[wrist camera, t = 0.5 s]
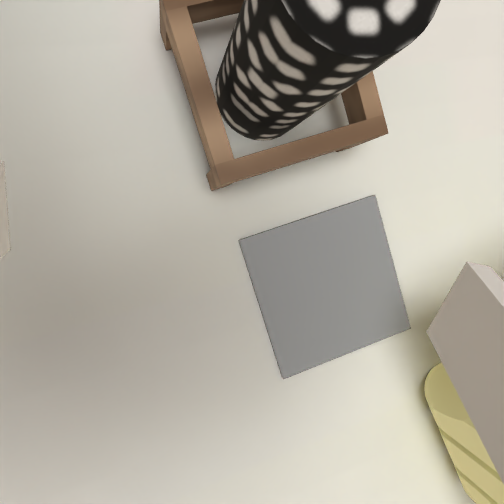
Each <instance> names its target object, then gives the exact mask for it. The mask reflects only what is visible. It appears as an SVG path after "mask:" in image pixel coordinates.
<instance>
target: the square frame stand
mask: <svg viewBox="0 0 504 504" xmlns="http://www.w3.org/2000/svg"><path fill="white" fill-rule="evenodd" d="M243 1H244V0H159V5H160V33H161V36H162V39H163V42H164V46H165V49H166V50H171V49H172V50H173V53H174V56H175V59H176V63H177V66H178V69H179V72H180V75H181V78H182V81H183V84H184V88H185V91H186V94H187V97H188V100H189V103H190V106H191V109H192V113H193V116H194V119H195V122H196V125H197V128H198V131H199V134H200V138H201V141H202V144H203V147H204V150H205V153H206V156H207V159H208V163H209V166H210V169H211V170H210V171H209V172H208V173H207V174H206V176H207V179H208V182H209V185H210V188H211V191H213V190H216V189H219V188H223V187H226V186H228V185H230V184H232V183H234V182H237V181H240V180H243V179H246V178H250V177H253V176H256V175H259V174H263V173H266V172H269V171H272V170H276V169H279V168H282V167H285V166H289V165H292V164H295V163H298V162H302V161H305V160H308V159H311V158H315V157H318V156H321V155H324V154H327V153H331V152H334V151H336V152H339V151H342V150H345V149H349V148H352V147H354V146H357V145H359V144H362V143H365V142H367V141H370V140H372V139H375V138H378V137H380V136H383V135H385V134H388V129H387V125H386V122H385V118H384V114H383V110H382V106H381V102H380V98H379V94H378V90H377V87H376V83H375V79H374V75H373V71H372V72H370V73H369V74H367V75H366V76H365V77H363V78H362V79H360V80H359V81H358V82H356V83H355V84H353V85H352V86H351V87H349V88H348V89H347V90H345V91H344V92H342V93H341V95H342V99H343V103H344V106H345V110H346V114H347V117H348V121H349V125H347V126H344V127H340V128H337V129H334V130H330V131H327V132H324V133H320V134H317V135H314V136H310V137H307V138H303V139H300V140H297V141H293V142H290V143H287V144H283V145H280V146H277V147H273V148H270V149H267V150H263V151H260V152H257V153H253V154H250V155H247V156H243V157H240V158H237V159H234V157H233V153H232V150H231V147H230V144H229V141H228V137H227V134H226V131H225V128H224V124H223V121H222V118H221V115H220V112H219V108H218V105H217V102H216V99H215V96H214V92H213V89H212V86H211V83H210V79H209V76H208V73H207V70H206V67H205V63H204V60H203V57H202V54H201V51H200V47H199V44H198V41H197V38H196V34H195V31H194V28H193V25H192V24H194V23H198V22H202V21H206V20H211V19H215V18H219V17H223V16H227V15H232V14H236V13H240V10H241V7H242V4H243Z"/></svg>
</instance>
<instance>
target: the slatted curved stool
mask: <svg viewBox="0 0 504 504" xmlns="http://www.w3.org/2000/svg"><path fill="white" fill-rule="evenodd" d="M424 390H425V396H426V400H427V402H428V405H429V407H430V409H431V412H432V414H433V417H434V419H435V421H436V423H437V425H438V428H439V431H440V433H441V436H442V438H443V440H444V443H445V445H446V447H447V450H448V452H449V455H450V457H451V459H452V461H453V463H454V466H455V469H456V471H457V474H458V476H459V478H460V481H461V483H462V486H463V488H464V490H465V492H466V493H467V494H468V496H469V497H470V498H471V499H472V500H473V501H474V502H475V503H476V504H504V484H503V482H502V480H501V478H500V476H499V474H498V472H497V470H496V468H495V466H494V464H493V462H492V460H491V459H490V457H489V455H488V453H487V451H486V449H485V447H484V445H483V443H482V441H481V439H480V437H479V435H478V433H477V431H476V429H475V427H474V425H473V423H472V421H471V419H470V417H469V415H468V413H467V411H466V409H465V407H464V405H463V403H462V401H461V399H460V397H459V395H458V393H457V391H456V389H455V387H454V385H453V384H452V382H451V380H450V378H449V376H448V374H447V372H446V370H445V368H444V366H443V364H442V362H441V363H439V364H438V365H436V366H435V367H433V368H432V369H431V370H430V372H429V373H428V375H427V377H426V380H425V386H424Z"/></svg>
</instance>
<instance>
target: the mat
mask: <svg viewBox="0 0 504 504" xmlns="http://www.w3.org/2000/svg"><path fill="white" fill-rule="evenodd" d="M239 243H240V246H241V249H242V253H243V256H244V259H245V262H246V265H247V268H248V271H249V275H250V278H251V281H252V284H253V287H254V290H255V293H256V297H257V300H258V303H259V306H260V309H261V312H262V315H263V319H264V322H265V325H266V328H267V331H268V334H269V337H270V341H271V344H272V347H273V350H274V353H275V356H276V359H277V363H278V366H279V369H280V372H281V375H282V378H283V379H286V378H288V377H291V376H293V375H296V374H298V373H301V372H303V371H306V370H308V369H311V368H313V367H316V366H318V365H321V364H323V363H326V362H328V361H331V360H333V359H336V358H338V357H341V356H343V355H346V354H348V353H351V352H353V351H356V350H358V349H361V348H363V347H366V346H368V345H371V344H373V343H375V342H378V341H380V340H383V339H385V338H388V337H390V336H393V335H395V334H398V333H400V332H403V331H405V330H408V329H410V328H411V327H410V323H409V319H408V316H407V312H406V308H405V304H404V301H403V297H402V293H401V289H400V286H399V282H398V278H397V274H396V271H395V267H394V263H393V259H392V256H391V252H390V248H389V244H388V241H387V237H386V233H385V230H384V226H383V222H382V218H381V215H380V211H379V207H378V203H377V200H376V196H375V195H373V196H370V197H367V198H364V199H361V200H358V201H355V202H352V203H349V204H346V205H343V206H340V207H337V208H334V209H331V210H328V211H325V212H322V213H319V214H316V215H313V216H310V217H307V218H304V219H301V220H298V221H295V222H292V223H289V224H286V225H283V226H280V227H277V228H274V229H271V230H268V231H265V232H262V233H259V234H256V235H253V236H250V237H247V238H244V239H241V240H239Z"/></svg>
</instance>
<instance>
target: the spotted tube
mask: <svg viewBox="0 0 504 504" xmlns="http://www.w3.org/2000/svg"><path fill="white" fill-rule="evenodd" d="M439 3H440V0H244V1H243V4H242V7H241V10H240V13H239V16H238V18H237V21H236V24H235V27H234V30H233V32H232V35H231V38H230V41H229V44H228V47H227V49H226V52H225V55H224V58H223V61H222V64H221V66H220V69H219V72H218V75H217V79H216V84H215V97H216V102H217V105H218V108H219V111H220V113H221V115H222V117H223V118H224V120H225V121H226V122H227V124H228V125H229V126H230V127H231V128H232V129H234V130H235V131H236V132H237V133H239V134H241V135H243V136H245V137H247V138H251V139H254V140H270V139H274V138H277V137H280V136H282V135H283V134H285V133H286V132H288V131H289V130H291V129H292V128H294V127H295V126H296V125H298V124H299V123H301V122H302V121H303V120H305V119H306V118H308V117H309V116H310V115H312V114H313V113H314V112H316V111H317V110H319V109H320V108H321V107H323V106H324V105H326V104H327V103H328V102H330V101H331V100H333V99H334V98H335V97H337V96H338V95H340V94H341V93H342V92H344V91H345V90H347V89H348V88H349V87H351V86H352V85H353V84H355V83H356V82H358V81H359V80H360V79H362V78H363V77H365V76H366V75H367V74H369V73H370V72H372V71H373V70H374V69H376V68H377V67H379V66H380V65H381V64H383V63H384V62H385V61H387V60H388V59H390V58H391V57H392V56H394V55H395V54H397V53H398V52H399V51H401V50H402V49H404V48H405V47H406V46H408V45H409V44H411V43H412V42H413V41H414V40H415V39H416V38H417V37H418V36H419V35H420V34H421V33H422V32H423V31H424V30H425V28H426V27H427V26H428V24H429V23H430V21H431V20H432V18H433V17H434V14H435V12H436V10H437V7H438V5H439Z"/></svg>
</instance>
